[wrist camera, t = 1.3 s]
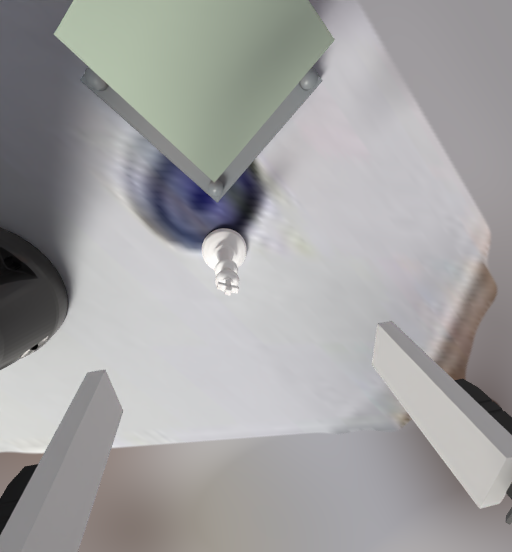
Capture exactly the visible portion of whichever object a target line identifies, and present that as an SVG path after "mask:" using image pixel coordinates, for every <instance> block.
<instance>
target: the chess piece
mask: <svg viewBox="0 0 512 552" xmlns="http://www.w3.org/2000/svg"><path fill="white" fill-rule="evenodd" d="M246 252H247V247H246V243H245V240H244V239H243V237H242V236H241V235H240V234H239V233H238V232H236V231H234V230H231V229H227V228H222V229H217V230H214V231H212V232H211V233H210V234H208V235H207V237H206V238H205V239H204V242H203V244H202V255H203V258H204V260H205V262H206V263H207V265H208V266H209V267H211V268H212V269H214V270H215V274H216V279H215V283H216V286H217V289H220V290H222V291H225V294H226V295H230V294H231V292H233V293H238V290H239V287H238V284H239V277H238V275H237V272H238V267H239V266H240V265H241V264H242V263H243V262H244V260H245V257H246Z"/></svg>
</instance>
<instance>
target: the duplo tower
mask: <svg viewBox="0 0 512 552" xmlns="http://www.w3.org/2000/svg"><path fill="white" fill-rule="evenodd" d="M54 35H55V36H56V37H57V38H58V39H59V40H60V41H61V42H62V43H64V44H65V45H66V46H67V47H68V48H69V49H70V50H71V51H72V52H73V53H74V54H75V55H77V56H78V57H79V58H80V59H81V60H82V61H83V62H84V63H85V64H86V65H87V66H88V68H87V69H86V71H85V74H84V75H83V77H82V79H81V81H82V82H83V83H84V84H85V85H86V86H87V87H88V88H90V89H91V90H92V91H93V92H94V93H95V94H96V95H97V96H99V97H100V98H101V99H102V100H103V101H104V102H105V103H106V104H108V105H109V106H110V107H111V108H112V109H113V110H114V111H115V112H116V113H118V114H119V115H120V116H121V117H122V118H123V119H124V120H125V121H127V122H128V123H129V124H130V125H131V126H132V127H133V128H134V129H136V130H137V131H138V132H139V133H140V134H141V135H142V136H143V137H145V138H146V139H147V140H148V141H149V142H150V143H151V144H152V145H153V146H155V147H156V148H157V149H158V150H159V151H160V152H161V153H162V154H164V155H165V156H166V157H167V158H168V159H169V160H170V161H171V162H173V163H174V164H175V165H176V166H177V167H178V168H179V169H180V170H181V171H183V172H184V173H185V174H186V175H187V176H188V177H189V178H190V179H192V180H193V181H194V182H195V183H196V184H197V185H198V186H199V187H201V188H202V189H203V190H204V191H205V192H206V193H207V194H208V195H210V196H211V197H212V198H213V199H214V200H215V201H216V202H218V201H219V200H220V199H221V198H222V196H223V195H224V194H225V193H226V192H227V191H228V190H229V188H230V187H231V186H232V185H233V184H234V183H235V181H236V180H237V179H238V178H239V177H240V176H241V174H242V173H243V172H244V171H245V170H246V169H247V168H248V166H249V165H250V164H251V163H252V162H253V161H254V159H255V158H256V157H257V156H258V155H259V154H260V152H261V151H262V150H263V149H264V148H265V147H266V146H267V144H268V143H269V142H270V141H271V140H272V139H273V137H274V136H275V135H276V134H277V133H278V132H279V131H280V129H281V128H282V127H283V126H284V125H285V124H286V122H287V121H288V120H289V119H290V118H291V117H292V115H293V114H294V113H295V112H296V111H297V110H298V109H299V107H300V106H301V105H302V104H303V103H304V102H305V100H306V99H307V98H308V97H309V96H310V95H311V93H312V92H313V91H314V90H315V89H316V88H317V87H318V85H319V84H320V83H321V82H322V80H321V78H320V77H319V75H318V74H317V72H316V70H315V69H313V67H312V66H313V65H314V64H315V63H316V62H317V60H318V59H319V58H320V57H321V56H322V55H323V53H324V52H325V51H326V50H327V49H328V47H329V46H330V45H331V44H332V43H333V41H334V38H333V37H332V35H331V34H330V32H329V31H328V29H327V27H326V26H325V24H324V23H323V21H322V20H321V18H320V17H319V15H318V14H317V12H316V11H315V9H314V8H313V6H312V5H311V3H310V2H309V0H73V2H72V4H71V6H70V7H69V9H68V11H67V12H66V14H65V16H64V18H63V19H62V21H61V23H60V24H59V26H58V28H57V30H56V31H55V33H54Z"/></svg>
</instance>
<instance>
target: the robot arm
mask: <svg viewBox="0 0 512 552" xmlns="http://www.w3.org/2000/svg"><path fill="white" fill-rule="evenodd" d="M67 307H68V299H67V293H66V289H65V286H64V283H63V281H62V279H61V277H60V275H59V273H58V272H57V270H56V269H55V267H54V266H53V265H52V263H51V262H50V261H49V260H48V259H47V258H46V257H45V256H44V255H43V254H42V253H41V252H40V251H39V250H38V249H36V248H35V247H34V246H33V245H31V244H30V243H28V242H27V241H25V240H24V239H22V238H20V237H19V236H17V235H15V234H13V233H11V232H9V231H7V230H4V229H2V228H0V370H1V369H3V368H5V367H7V366H9V365H11V364H12V363H14V362H16V361H17V360H19V359H20V358H23V357H25V356H27V355H29V354H31V353H33V352H35V351H36V350H38V349H39V348H41V347H42V346H43V345H44V344H45V343H46V342H47V341H48V340H49V339H50V338H51V337H52V336H53V335H54V334H55V332H56V331H57V330H58V329H59V328H60V326H61V325H62V323H63V321H64V319H65V317H66V313H67ZM372 366H373V367H374V369H375V370H376V371H377V373H378V374H379V375H380V377H381V378H382V379H383V381H384V382H385V383H386V385H387V386H388V387H389V389H390V390H391V391H392V393H393V394H394V395H395V397H396V398H397V399H398V401H399V402H400V403H401V405H402V406H403V407H404V409H405V410H406V411H407V413H408V414H409V415H410V417H411V418H412V419H413V421H414V422H415V423H416V425H417V426H418V427H419V428H420V430H421V431H422V433H423V434H424V435H425V436H426V438H427V439H428V440H429V442H430V443H431V444H432V446H433V447H434V449H435V450H436V451H437V453H438V454H439V455H440V457H441V458H442V459H443V461H444V462H445V463H446V465H447V466H448V467H449V469H450V470H451V471H452V472H453V474H454V475H455V477H456V478H457V479H458V480H459V482H460V483H461V485H462V486H463V487H464V489H465V490H466V491H467V493H468V494H469V495H470V497H471V498H472V499H473V500H474V502H475V503H476V504H477V506H478V507H479V508H484V507H488V506H492V505H496V504H499V503H501V501H502V500H503V498H504V496H505V494H506V493H507V494H508V496H509V497H510V498H511V499H512V417H511V416H509V415H508V414H507V413H506V412H505V411H503V410H502V408H501V407H499V406H498V405H497V404H496V403H495V402H492V400H491V399H490V398H489V397H488V396H487V395H486V394H485V393H484V392H483V391H481V390H480V389H479V388H478V387H476V386H475V385H473V384H471V383H469V382H468V381H466V380H464V379H459V380H453V379H452V378H451V377H450V376H449V375H448V374H447V373H446V372H445V371H444V370H443V369H442V368H440V367H439V366H438V365H437V364H436V363H435V362H434V361H433V360H432V359H431V358H430V357H429V356H428V355H427V354H426V353H425V352H424V351H423V350H422V349H420V348H419V347H418V346H417V345H416V344H415V343H414V342H413V341H412V340H411V339H410V338H409V337H408V336H407V335H406V334H405V333H404V332H403V331H402V330H400V329H399V328H398V327H397V326H396V325H395V324H394V323H393V322H392V321H390V322H384V323H378V324H377V331H376V338H375V345H374V352H373V359H372ZM122 413H123V409H122V407H121V405H120V402H119V400H118V398H117V395H116V393H115V391H114V388H113V386H112V384H111V382H110V379H109V377H108V375H107V372H106V370H100V371H94V372H88V373H87V374H86V376H85V378H84V380H83V382H82V384H81V386H80V388H79V389H78V391H77V393H76V395H75V397H74V399H73V401H72V402H71V404H70V406H69V408H68V410H67V412H66V414H65V416H64V417H63V419H62V421H61V423H60V425H59V427H58V429H57V430H56V432H55V434H54V436H53V438H52V440H51V442H50V443H49V445H48V447H47V449H46V451H45V453H44V455H43V457H42V458H41V460H40V462H39V464H37V465H31V466H26V467H24V468H23V469H22V470H21V471H20V473H19V474H18V475H17V476H16V477H15V478H14V479H13V480H12V481H11V482H10V484H9V485H8V486H7V488H6V490H5V491H4V493H3V495H2V496H1V498H0V552H78V550H79V547H80V543H81V540H82V537H83V534H84V531H85V528H86V525H87V522H88V518H89V516H90V512H91V509H92V506H93V503H94V500H95V497H96V494H97V491H98V488H99V485H100V481H101V478H102V475H103V472H104V469H105V466H106V463H107V459H108V457H109V454H110V450H111V447H112V444H113V441H114V438H115V435H116V432H117V429H118V426H119V423H120V419H121V416H122ZM506 523H508V524H511V523H512V508H511V509H510V511H509V512H508V514H507V515H506Z"/></svg>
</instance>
